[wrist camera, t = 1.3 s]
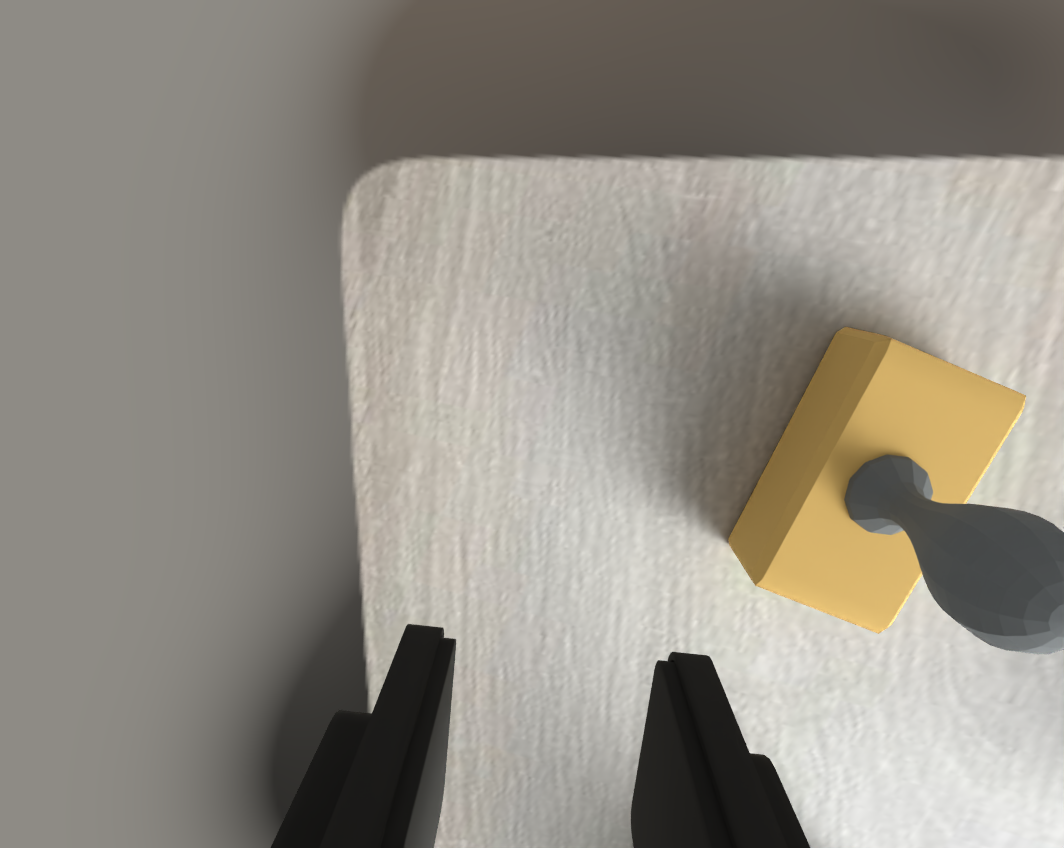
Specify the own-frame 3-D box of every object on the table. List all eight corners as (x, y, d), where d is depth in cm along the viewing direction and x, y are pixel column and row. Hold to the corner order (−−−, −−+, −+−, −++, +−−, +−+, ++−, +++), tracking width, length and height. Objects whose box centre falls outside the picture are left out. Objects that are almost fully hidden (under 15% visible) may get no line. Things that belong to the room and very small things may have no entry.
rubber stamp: (836, 323, 25) (1087, 376, 13) (968, 379, 25) (1324, 478, 14) (722, 542, 27) (851, 751, 16) (844, 590, 28) (1059, 829, 16)
